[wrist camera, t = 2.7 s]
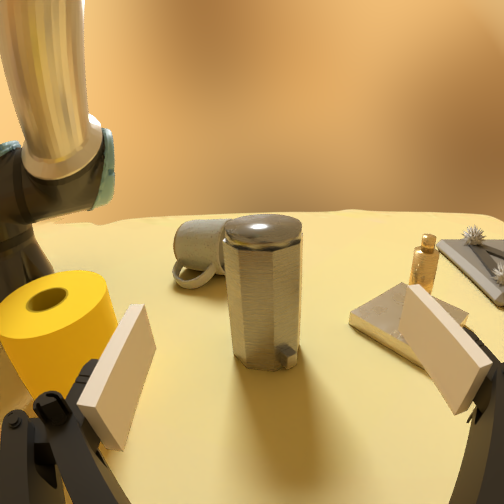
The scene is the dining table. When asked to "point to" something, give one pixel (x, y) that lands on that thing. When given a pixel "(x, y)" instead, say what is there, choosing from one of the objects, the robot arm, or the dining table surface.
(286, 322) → the trash can
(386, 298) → the square metal stand
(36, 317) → the tape roll
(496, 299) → the decorative plate
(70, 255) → the dining table surface
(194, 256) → the ceramic mug
